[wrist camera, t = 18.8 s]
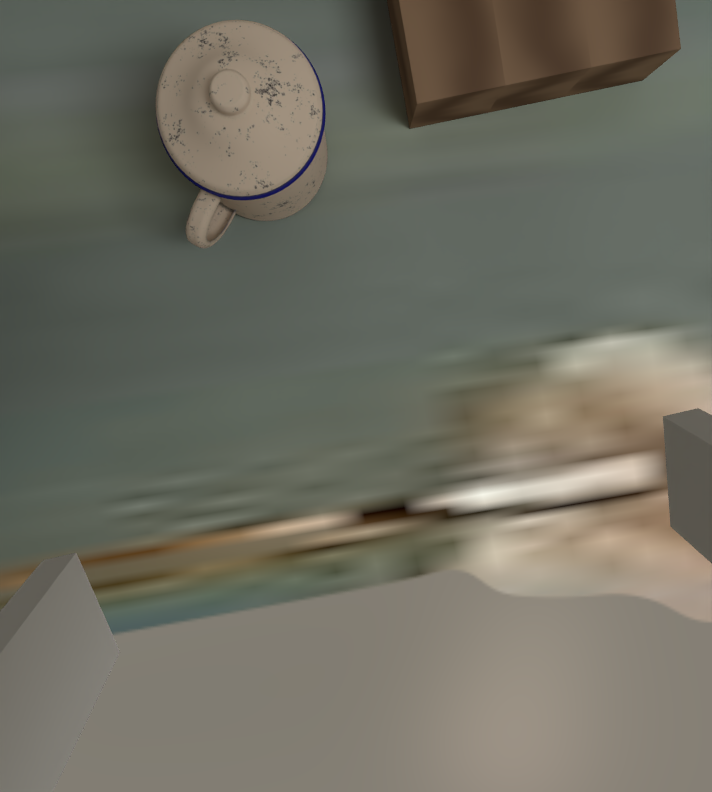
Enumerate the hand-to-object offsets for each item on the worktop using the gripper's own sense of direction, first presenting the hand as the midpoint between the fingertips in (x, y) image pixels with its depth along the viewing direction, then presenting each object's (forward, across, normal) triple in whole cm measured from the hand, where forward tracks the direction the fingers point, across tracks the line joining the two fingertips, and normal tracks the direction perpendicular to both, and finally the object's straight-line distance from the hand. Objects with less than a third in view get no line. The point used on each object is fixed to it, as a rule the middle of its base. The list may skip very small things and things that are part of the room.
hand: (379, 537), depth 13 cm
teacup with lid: (+31, -4, +11) cm, 33 cm away
